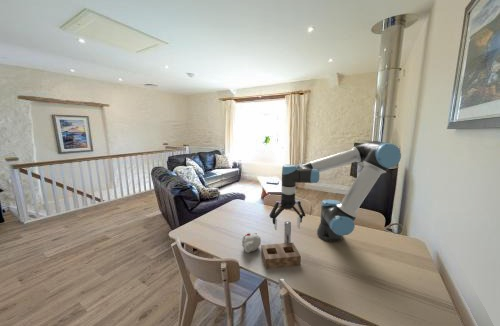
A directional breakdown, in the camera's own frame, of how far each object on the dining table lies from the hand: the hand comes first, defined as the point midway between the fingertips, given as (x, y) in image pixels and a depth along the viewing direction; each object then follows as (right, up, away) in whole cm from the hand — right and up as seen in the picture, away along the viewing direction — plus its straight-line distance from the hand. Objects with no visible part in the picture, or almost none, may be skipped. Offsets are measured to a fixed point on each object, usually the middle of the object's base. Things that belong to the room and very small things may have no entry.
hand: (287, 228), depth 115 cm
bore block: (-5, -13, -8) cm, 17 cm away
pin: (+1, -11, +2) cm, 12 cm away
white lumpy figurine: (-21, -12, +2) cm, 24 cm away
